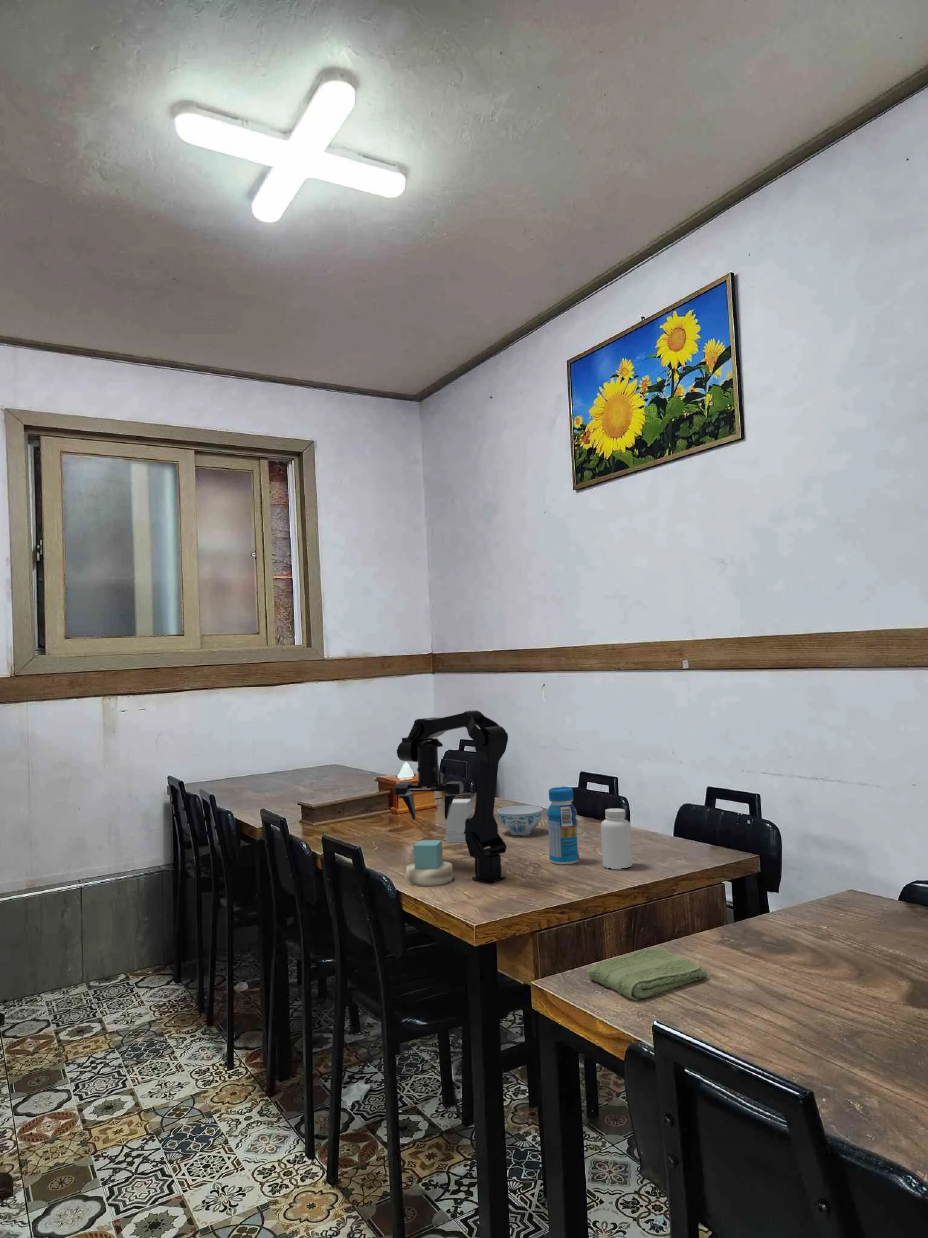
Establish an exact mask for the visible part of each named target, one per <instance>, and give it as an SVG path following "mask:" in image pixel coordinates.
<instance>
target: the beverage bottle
mask: <svg viewBox="0 0 928 1238" xmlns="http://www.w3.org/2000/svg"><path fill="white" fill-rule="evenodd" d="M548 800H549V802H550V804H549V807H548V809H547V812H546V815H547V817H548V819H547V821H546V825H547V828H548V845H549V847H548V848H549V855H548V857H549V862H550V863H552V864H553V865H554V864H555V865H562V864H565V865H572V864H576V863H578V862H579V860H580V856H579V846H578V845H579V843H578V839H579V838H578V827H579V826H578V825H579V823H578V820H577V815H578V813H577V809H576V807H575V805H574V804H573V801H574V790H573V788H572V787H566V786H565V787H564V786H561V787H560V786H557V787H551V788H549V789H548Z"/></svg>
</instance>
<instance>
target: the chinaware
mask: <svg viewBox="0 0 928 1238" xmlns="http://www.w3.org/2000/svg"><path fill="white" fill-rule="evenodd" d="M543 810H544V809H543V808H542V807H540V806H533V805H512V806H503V807H501V808H498V809H496V814H497V817H498V820H499V822H500V823H501V825H502V826H503V827H504V828H505V829H506V830H507V831H509V832H510V835H512V836H516V835H523V836H529V835H530V834H532V831H534V829H535V828H537V826H538V825H539V823H540V822H541V820H542V816H543V812H544V811H543Z"/></svg>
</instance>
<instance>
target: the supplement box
mask: <svg viewBox="0 0 928 1238" xmlns="http://www.w3.org/2000/svg"><path fill="white" fill-rule="evenodd" d="M472 812H473V811H472V798H455V799H453V801H452V804H451V807H450V811H449V815H448V818H447V820H445V837H446V839H445V840H446V843H448V844H449V843H452V844H467V843H466V841H465V834H464V831H465V821H466V819H467V818H472V816H473V814H472Z"/></svg>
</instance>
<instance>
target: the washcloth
mask: <svg viewBox="0 0 928 1238" xmlns="http://www.w3.org/2000/svg"><path fill="white" fill-rule="evenodd" d="M588 976H589V979H591V981H594V982H596V983H599V984H601V985H602V986H604V987H606V988H610V989H612V990H614V991H617V993H618V994H619V995H622V996H624V997H626V998H627V999H628V1000H633V1001H639V1000H643V999H647V998H650V997H654V996H657V995H659V994H663V993H666V992H669V991H671V990H673V989H677V988H679V987H682V986H685V985H687V984H690V983H692V982H697V981H699V980H700V981H701V980H703V979H705V978H707V977H708V976H709V973H708V971H706V970H705V969H703V968H701V966H699V965H698V964H695V963H693V962H692V961H688V959H686V958H685V957H683V956H682V955H679V954H672V953H670V952H669V951H668V950H667V949H665V948H661V947H658V948H649V949H642V950H638V951H636V952H633V953H628V954H625V955H624V956H622V957H616V958H613V959H612V958H611V959H608V960H603V961H599V962H597V963H596V964H594V965H593V966H591V967H590V968H589V970H588Z"/></svg>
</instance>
